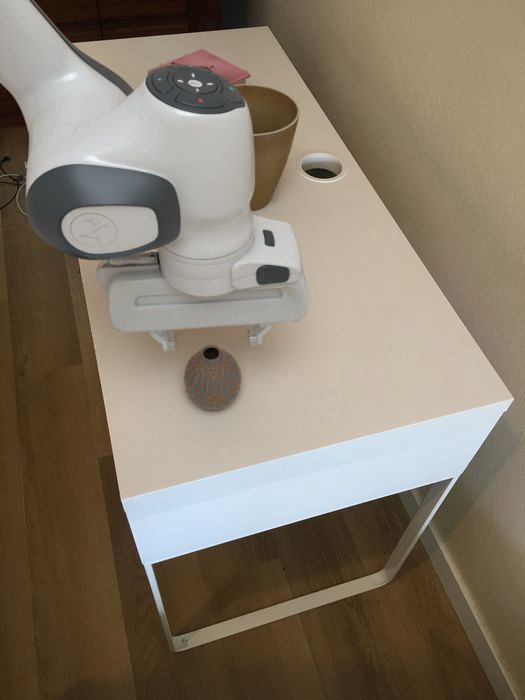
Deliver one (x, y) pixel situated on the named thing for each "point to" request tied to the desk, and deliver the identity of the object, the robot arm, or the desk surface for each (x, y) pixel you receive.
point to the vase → (212, 378)
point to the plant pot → (269, 136)
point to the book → (211, 66)
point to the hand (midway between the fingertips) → (212, 343)
